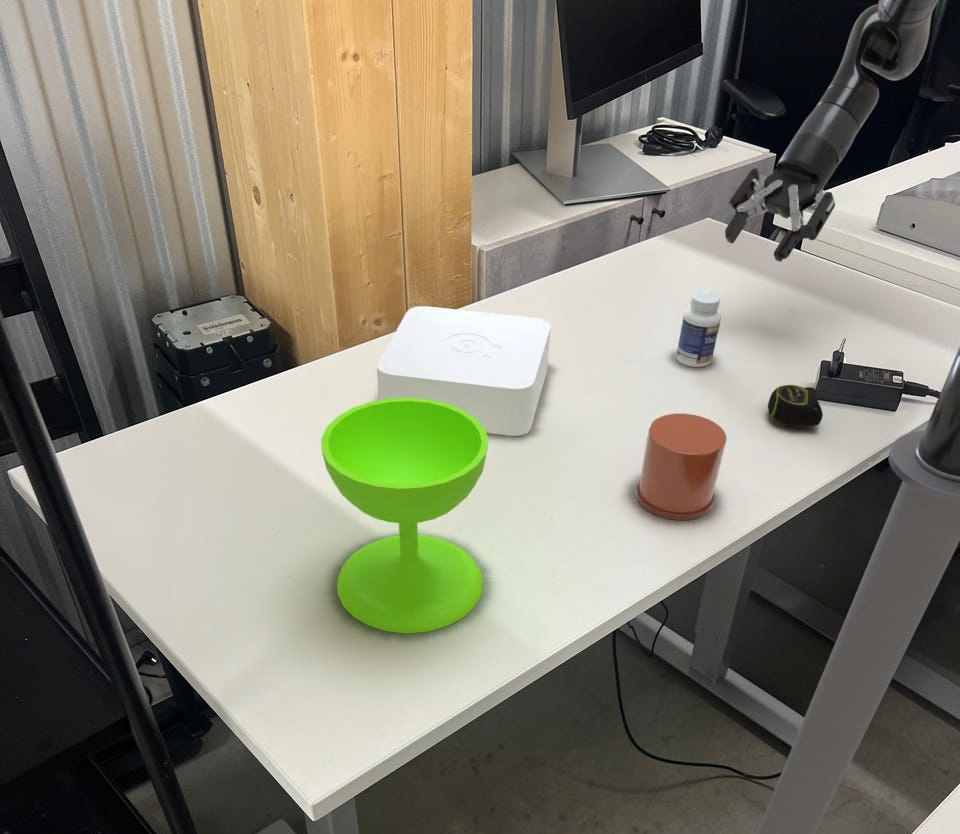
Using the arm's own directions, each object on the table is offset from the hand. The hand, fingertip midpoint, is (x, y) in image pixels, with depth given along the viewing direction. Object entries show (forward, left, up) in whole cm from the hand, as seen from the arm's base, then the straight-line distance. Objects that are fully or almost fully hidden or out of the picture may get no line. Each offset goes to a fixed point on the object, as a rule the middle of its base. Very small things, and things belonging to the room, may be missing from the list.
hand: (752, 249), depth 134 cm
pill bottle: (-2, +9, -14) cm, 17 cm away
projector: (+7, +44, -14) cm, 47 cm away
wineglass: (-26, +71, -14) cm, 77 cm away
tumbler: (-28, +35, -14) cm, 47 cm away
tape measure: (-22, +8, -14) cm, 27 cm away
